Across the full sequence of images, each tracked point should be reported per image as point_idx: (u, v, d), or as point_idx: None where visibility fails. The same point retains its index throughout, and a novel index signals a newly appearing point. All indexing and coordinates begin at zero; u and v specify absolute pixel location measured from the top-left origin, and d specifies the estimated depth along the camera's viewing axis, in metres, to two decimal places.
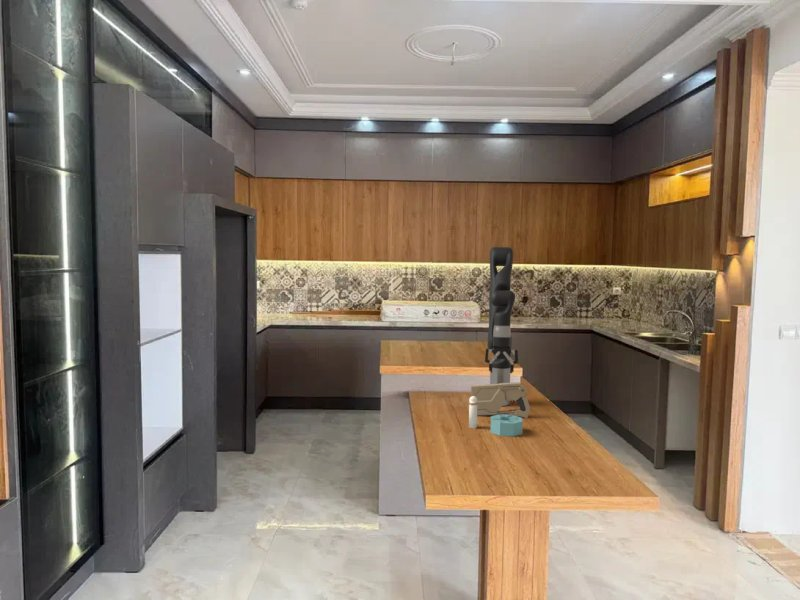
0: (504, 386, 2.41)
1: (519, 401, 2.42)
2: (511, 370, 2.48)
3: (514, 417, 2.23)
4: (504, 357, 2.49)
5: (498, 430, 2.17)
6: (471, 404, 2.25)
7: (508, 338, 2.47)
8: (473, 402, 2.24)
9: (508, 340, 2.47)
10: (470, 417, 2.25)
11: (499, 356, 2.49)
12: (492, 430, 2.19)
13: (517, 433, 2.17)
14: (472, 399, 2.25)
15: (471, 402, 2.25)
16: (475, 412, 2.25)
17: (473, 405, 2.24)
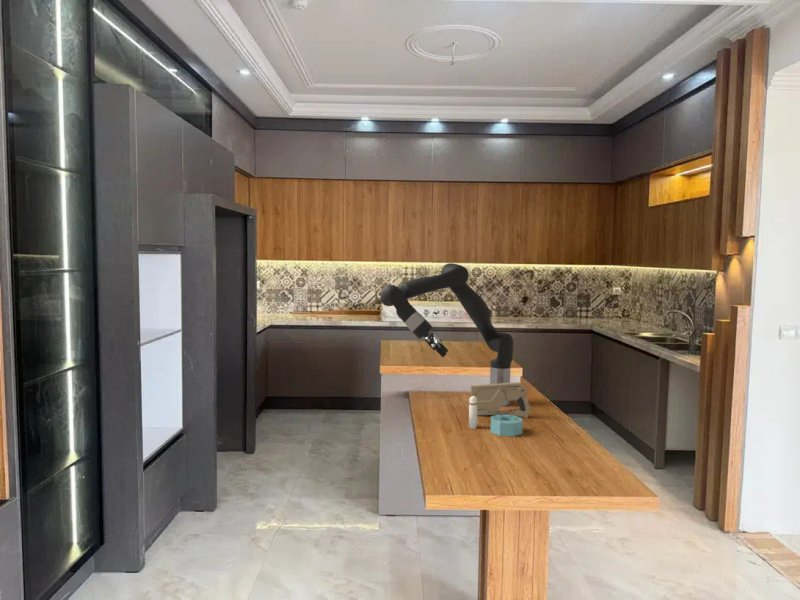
0: (504, 386, 2.41)
1: (519, 401, 2.42)
2: None
3: (514, 417, 2.23)
4: None
5: (498, 430, 2.17)
6: (471, 404, 2.25)
7: (414, 331, 2.29)
8: (473, 402, 2.24)
9: (416, 332, 2.29)
10: (470, 417, 2.25)
11: None
12: (492, 430, 2.19)
13: (517, 433, 2.17)
14: (472, 399, 2.25)
15: (471, 402, 2.25)
16: (475, 412, 2.25)
17: (473, 405, 2.24)
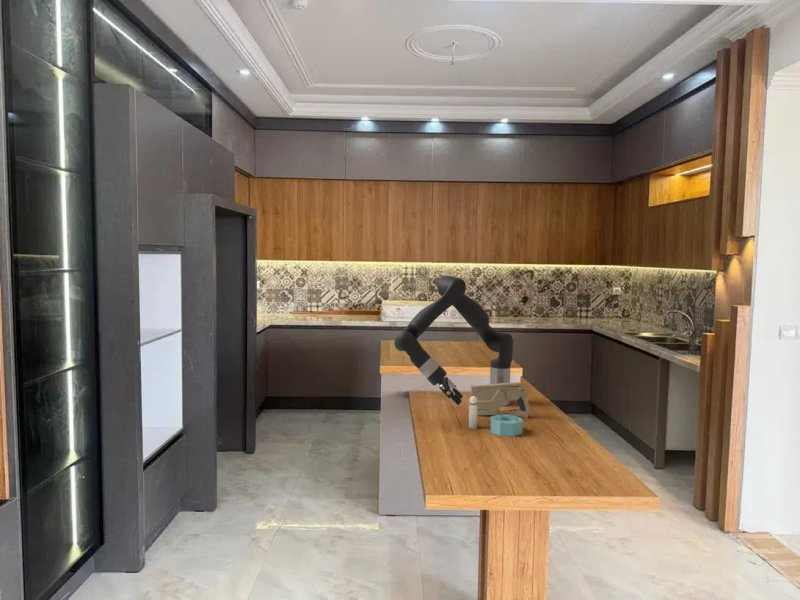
0: (504, 386, 2.41)
1: (519, 401, 2.42)
2: (455, 402, 2.23)
3: (514, 417, 2.23)
4: None
5: (498, 430, 2.17)
6: (471, 404, 2.25)
7: (428, 378, 2.25)
8: (473, 402, 2.24)
9: (430, 379, 2.25)
10: (470, 417, 2.25)
11: None
12: (492, 430, 2.19)
13: (517, 433, 2.17)
14: (472, 399, 2.25)
15: (471, 402, 2.25)
16: (475, 412, 2.25)
17: (473, 405, 2.24)
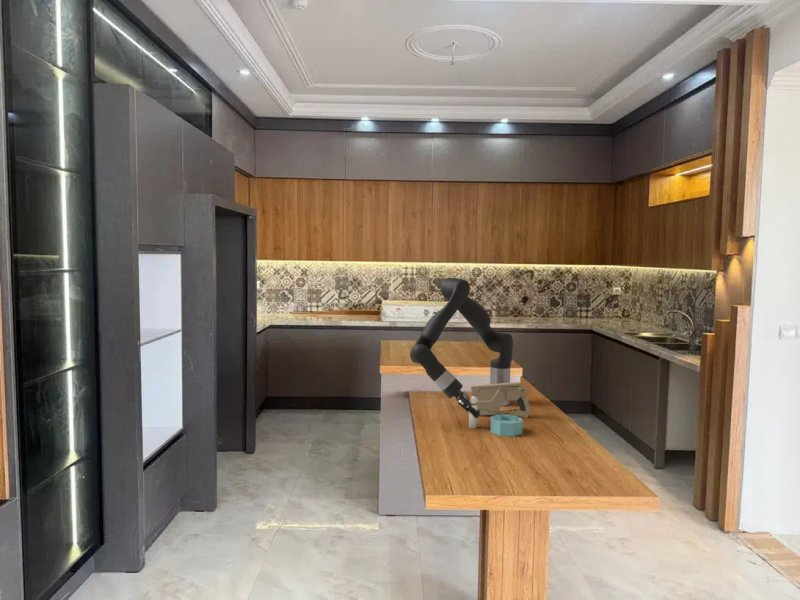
0: (504, 386, 2.41)
1: (519, 401, 2.42)
2: (474, 416, 2.24)
3: (514, 417, 2.23)
4: None
5: (498, 430, 2.17)
6: (471, 404, 2.25)
7: (444, 390, 2.25)
8: (473, 402, 2.24)
9: (446, 392, 2.25)
10: (470, 417, 2.25)
11: None
12: (492, 430, 2.19)
13: (517, 433, 2.17)
14: (472, 399, 2.25)
15: (471, 402, 2.25)
16: None
17: (473, 405, 2.24)
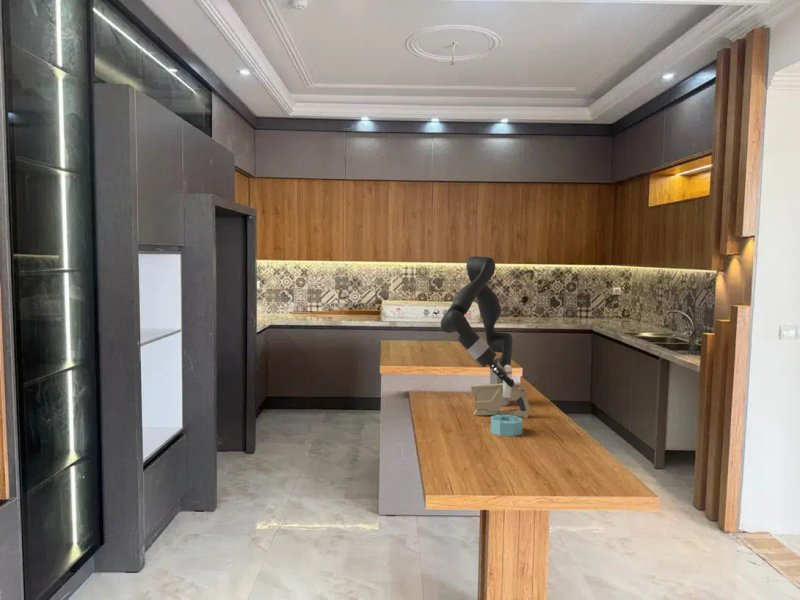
0: None
1: (519, 401, 2.42)
2: None
3: (514, 417, 2.23)
4: None
5: (498, 430, 2.17)
6: None
7: (478, 359, 2.19)
8: (508, 371, 2.18)
9: (479, 360, 2.19)
10: (504, 386, 2.19)
11: None
12: (492, 430, 2.19)
13: (517, 433, 2.17)
14: (506, 368, 2.19)
15: (505, 371, 2.19)
16: None
17: (507, 374, 2.18)
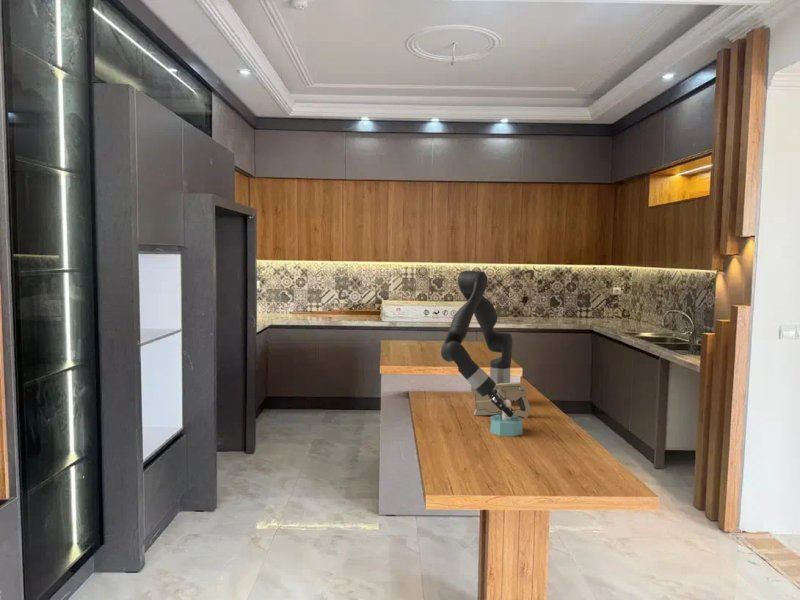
0: (504, 386, 2.41)
1: (519, 401, 2.42)
2: (507, 415, 2.18)
3: (514, 417, 2.23)
4: None
5: (498, 430, 2.17)
6: None
7: (477, 389, 2.19)
8: (507, 406, 2.19)
9: (479, 390, 2.19)
10: None
11: None
12: (492, 430, 2.19)
13: (517, 433, 2.17)
14: (506, 403, 2.19)
15: None
16: None
17: None
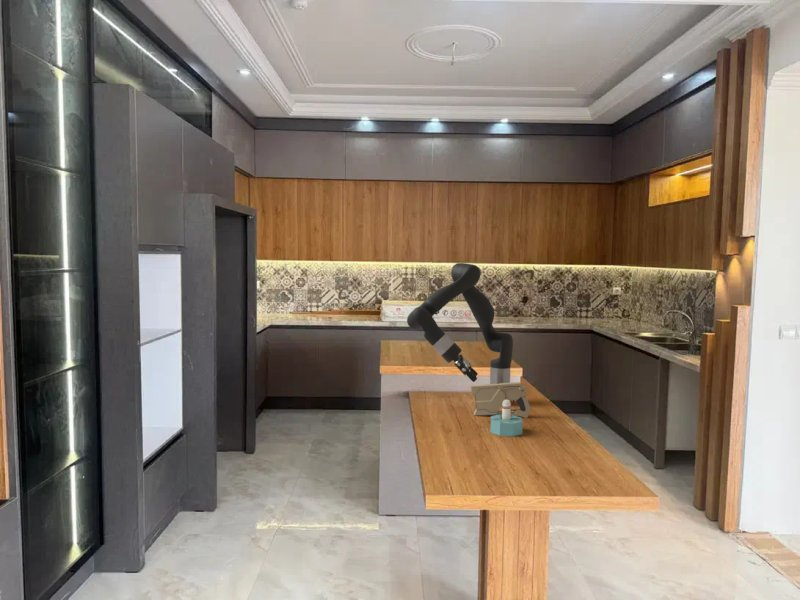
0: (504, 386, 2.41)
1: (519, 401, 2.42)
2: (471, 379, 2.19)
3: (514, 417, 2.23)
4: None
5: (498, 430, 2.17)
6: (504, 408, 2.20)
7: (443, 355, 2.21)
8: (507, 406, 2.19)
9: (445, 356, 2.21)
10: None
11: None
12: (492, 430, 2.19)
13: (517, 433, 2.17)
14: (505, 403, 2.20)
15: (504, 406, 2.20)
16: (509, 416, 2.20)
17: (506, 409, 2.19)
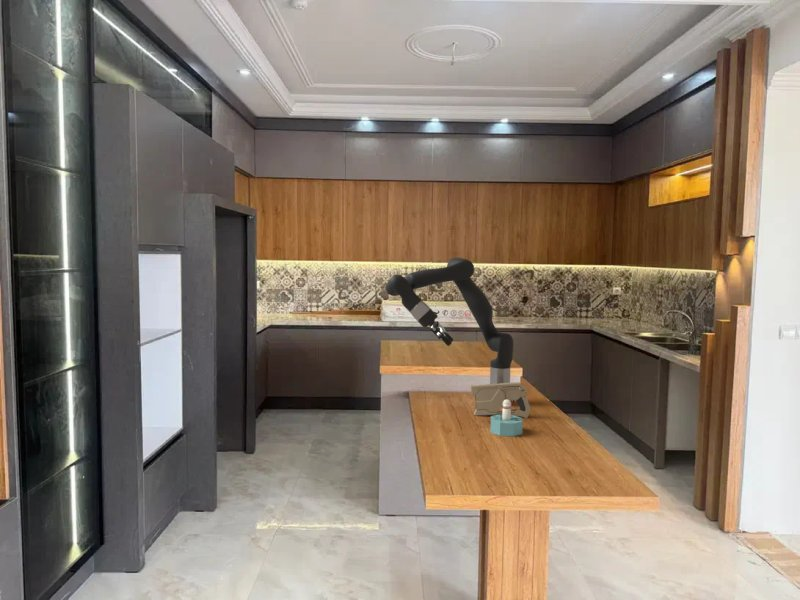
0: (504, 386, 2.41)
1: (519, 401, 2.42)
2: (446, 344, 2.28)
3: (514, 417, 2.23)
4: None
5: (498, 430, 2.17)
6: (505, 408, 2.20)
7: (419, 320, 2.30)
8: (507, 406, 2.19)
9: (421, 322, 2.30)
10: None
11: None
12: (492, 430, 2.19)
13: (517, 433, 2.17)
14: (506, 402, 2.20)
15: (505, 406, 2.20)
16: (509, 416, 2.20)
17: (507, 409, 2.19)
